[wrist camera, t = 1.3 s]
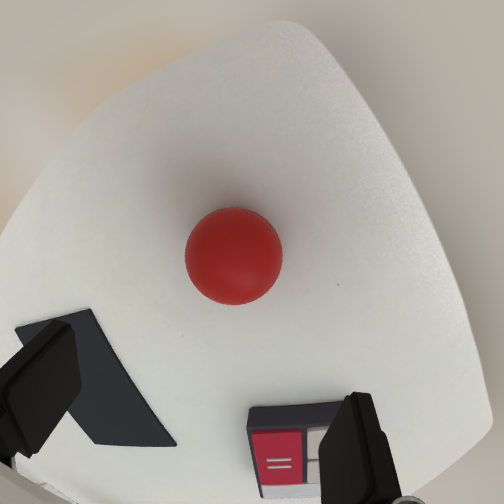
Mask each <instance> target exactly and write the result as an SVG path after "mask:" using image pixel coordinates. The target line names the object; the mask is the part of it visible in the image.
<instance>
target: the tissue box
mask: <svg viewBox="0 0 504 504" xmlns="http://www.w3.org/2000/svg"><path fill="white" fill-rule="evenodd" d="M40 487H42V488H44V489H46V490H48V491H49V492H51V493H53V494H55V495H57V496H59V497H61V498H63V499H65V500H67V501H69V502H71V503H73V504H77V503H76V502H74V501H73V500H71V499H70V498H68V497H67V496H65V495H64V494H62V493H61V492H59V491H58V490H57V489H55V488H54V487H52V486H51V485H50V484H48V483H46V484H43V485H40Z"/></svg>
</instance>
